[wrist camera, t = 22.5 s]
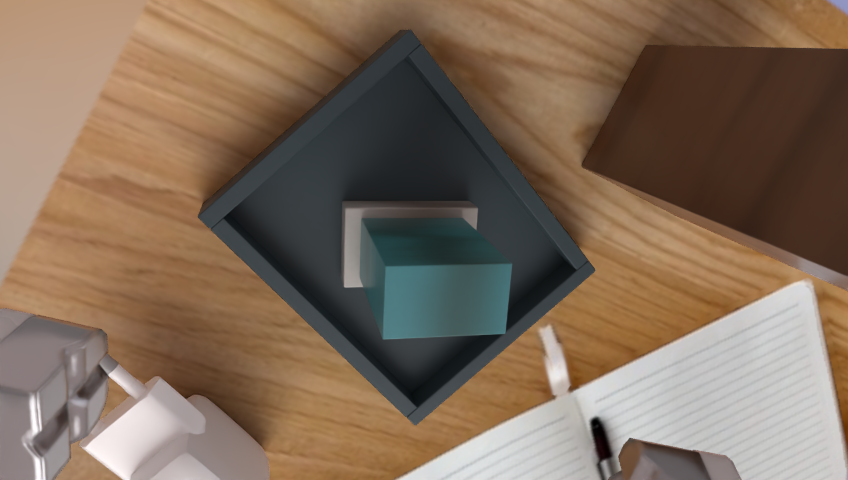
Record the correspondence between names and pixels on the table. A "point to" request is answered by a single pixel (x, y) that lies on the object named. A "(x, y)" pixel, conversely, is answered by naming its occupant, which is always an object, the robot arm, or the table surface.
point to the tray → (391, 181)
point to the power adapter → (171, 436)
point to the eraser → (424, 268)
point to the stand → (739, 147)
